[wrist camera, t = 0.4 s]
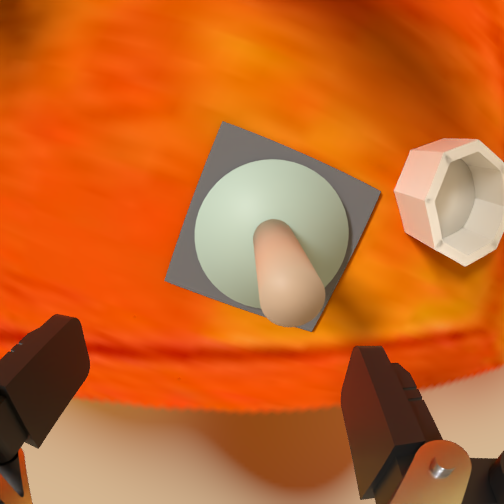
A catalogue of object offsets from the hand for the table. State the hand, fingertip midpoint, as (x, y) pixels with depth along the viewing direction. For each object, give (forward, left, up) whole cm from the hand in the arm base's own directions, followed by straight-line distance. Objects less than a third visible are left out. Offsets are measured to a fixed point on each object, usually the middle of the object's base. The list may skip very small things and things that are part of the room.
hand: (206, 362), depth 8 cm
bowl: (-10, +19, -22) cm, 31 cm away
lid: (+1, +4, -21) cm, 22 cm away
